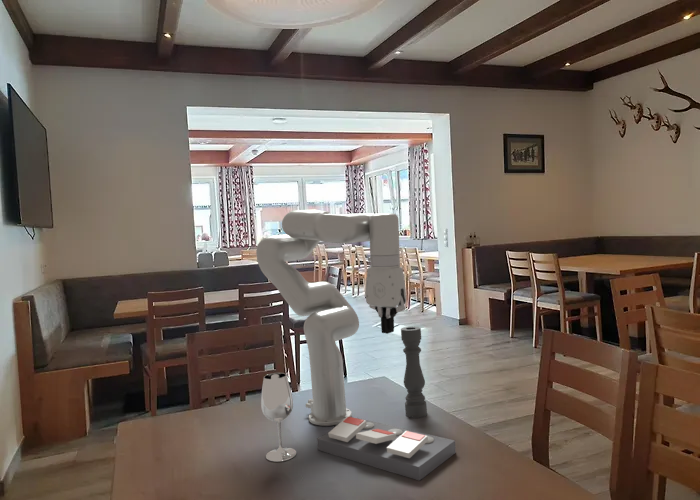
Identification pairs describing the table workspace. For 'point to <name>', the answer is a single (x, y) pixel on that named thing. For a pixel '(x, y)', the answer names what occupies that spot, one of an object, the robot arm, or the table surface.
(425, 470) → the power strip
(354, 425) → the rocker
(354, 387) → the table surface
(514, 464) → the table surface
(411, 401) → the candle holder
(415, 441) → the rocker
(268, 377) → the wineglass
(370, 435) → the rocker
